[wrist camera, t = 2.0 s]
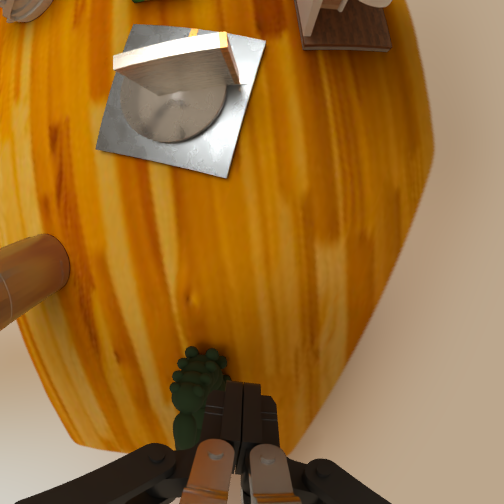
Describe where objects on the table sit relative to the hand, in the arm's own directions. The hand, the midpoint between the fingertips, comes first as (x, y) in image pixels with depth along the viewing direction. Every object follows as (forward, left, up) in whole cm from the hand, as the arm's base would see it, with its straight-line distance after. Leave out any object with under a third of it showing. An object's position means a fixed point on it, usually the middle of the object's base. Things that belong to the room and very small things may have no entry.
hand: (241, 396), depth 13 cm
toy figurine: (-1, -25, -29) cm, 38 cm away
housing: (-15, +16, -28) cm, 36 cm away
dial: (-14, +16, -26) cm, 34 cm away
